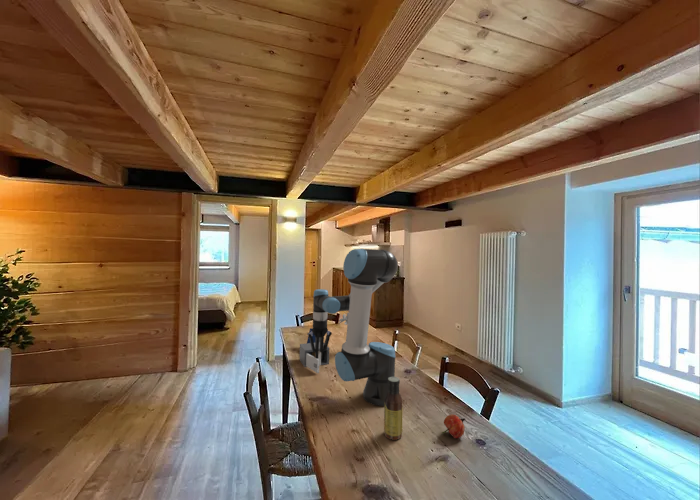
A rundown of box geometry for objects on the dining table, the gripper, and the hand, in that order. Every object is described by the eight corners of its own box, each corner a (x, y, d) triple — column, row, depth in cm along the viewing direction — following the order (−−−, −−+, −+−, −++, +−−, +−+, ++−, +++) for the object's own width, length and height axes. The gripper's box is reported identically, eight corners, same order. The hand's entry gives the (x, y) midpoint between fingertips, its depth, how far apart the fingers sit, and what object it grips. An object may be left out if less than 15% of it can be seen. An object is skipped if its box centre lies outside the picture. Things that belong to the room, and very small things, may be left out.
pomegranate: (446, 448, 103) (472, 434, 101) (433, 427, 105) (458, 413, 103) (448, 438, 110) (472, 425, 108) (435, 418, 112) (459, 405, 110)
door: (316, 373, 155) (316, 360, 155) (304, 365, 164) (304, 353, 164) (319, 372, 156) (319, 359, 156) (307, 365, 165) (307, 353, 165)
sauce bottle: (390, 428, 110) (391, 373, 110) (405, 435, 106) (407, 377, 106) (379, 436, 105) (381, 378, 105) (395, 444, 101) (397, 383, 101)
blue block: (320, 344, 205) (319, 325, 200) (314, 364, 187) (312, 343, 182) (312, 344, 206) (311, 324, 201) (305, 363, 187) (303, 343, 182)
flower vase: (370, 355, 186) (371, 314, 186) (342, 359, 179) (343, 316, 179) (361, 349, 198) (362, 310, 198) (334, 352, 191) (335, 312, 191)
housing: (329, 364, 170) (329, 348, 170) (304, 367, 165) (304, 350, 165) (322, 357, 181) (323, 341, 181) (299, 359, 176) (299, 344, 176)
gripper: (329, 316, 165) (328, 360, 165) (306, 318, 160) (304, 362, 161) (334, 320, 158) (332, 365, 158) (309, 321, 153) (308, 368, 154)
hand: (318, 364), depth 159 cm, fingers closed
